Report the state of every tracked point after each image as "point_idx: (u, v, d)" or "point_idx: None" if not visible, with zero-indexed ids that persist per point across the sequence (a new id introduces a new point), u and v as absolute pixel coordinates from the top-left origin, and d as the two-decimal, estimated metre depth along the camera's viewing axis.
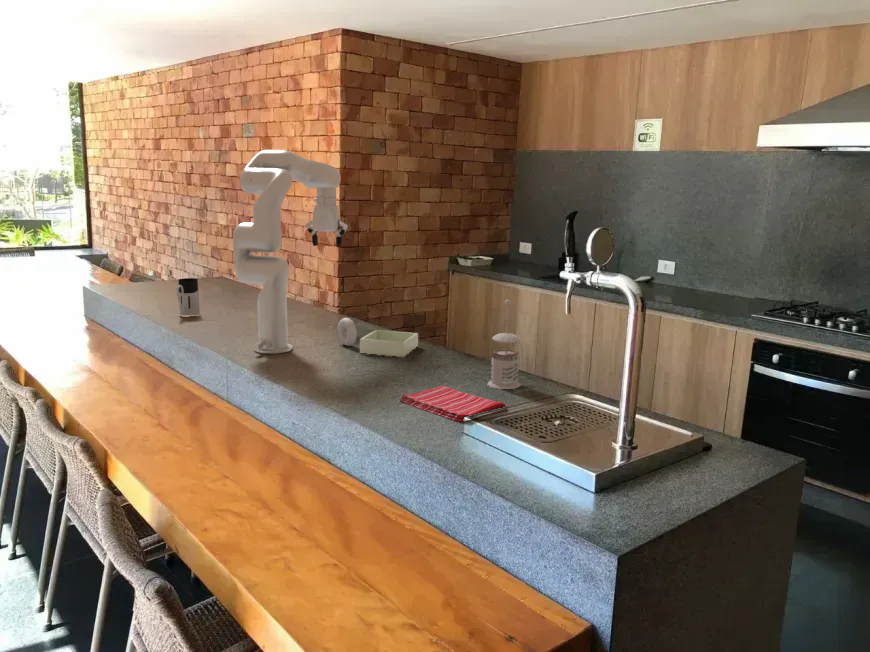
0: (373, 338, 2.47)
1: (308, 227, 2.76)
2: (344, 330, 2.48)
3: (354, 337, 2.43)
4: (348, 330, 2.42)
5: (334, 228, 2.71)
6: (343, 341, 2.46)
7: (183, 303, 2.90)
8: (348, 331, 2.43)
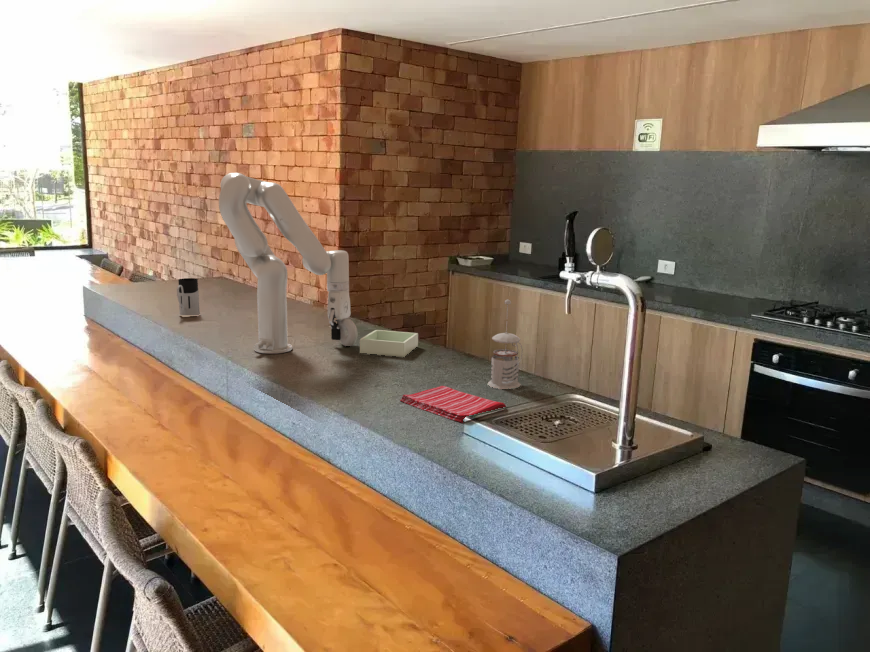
0: (373, 338, 2.47)
1: (334, 322, 2.41)
2: (344, 331, 2.47)
3: (355, 337, 2.42)
4: (349, 331, 2.42)
5: (350, 312, 2.50)
6: (343, 342, 2.45)
7: (183, 303, 2.90)
8: (349, 332, 2.42)
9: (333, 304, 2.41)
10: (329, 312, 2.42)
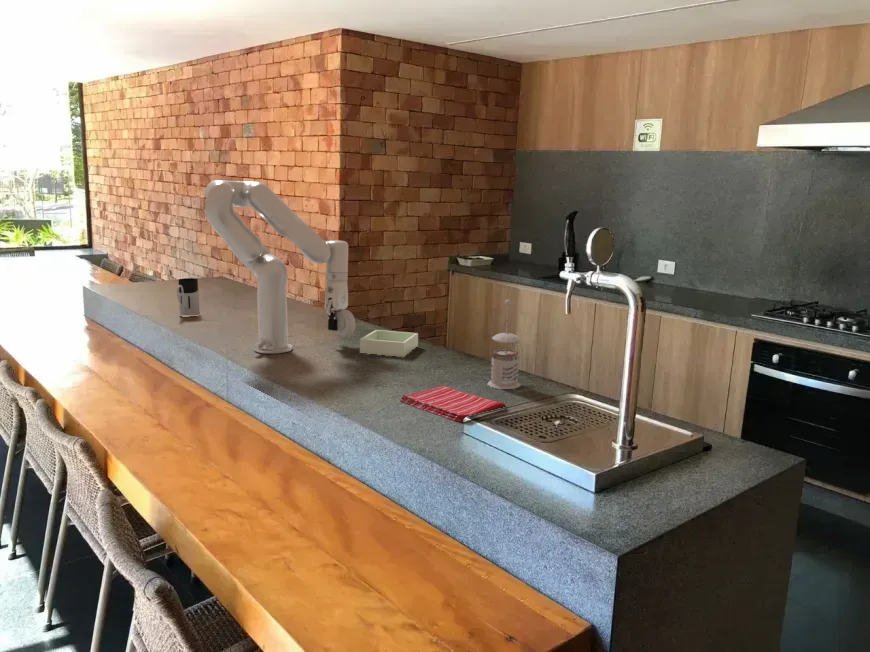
0: (373, 338, 2.47)
1: (331, 312, 2.41)
2: (341, 322, 2.45)
3: (353, 328, 2.41)
4: (348, 321, 2.40)
5: (347, 304, 2.49)
6: (341, 333, 2.44)
7: (183, 303, 2.90)
8: (347, 322, 2.41)
9: (331, 294, 2.40)
10: (326, 302, 2.41)
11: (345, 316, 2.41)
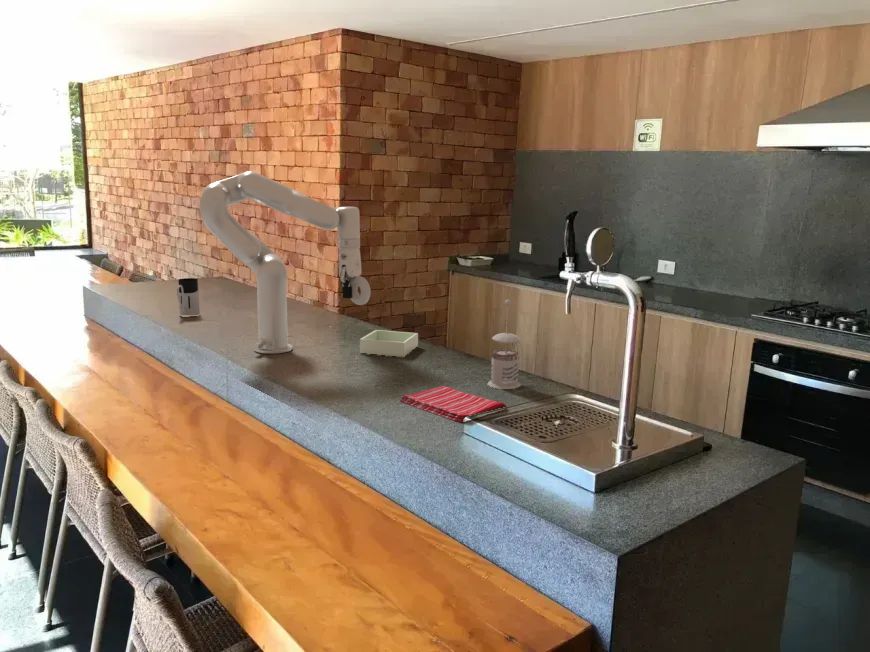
0: (373, 338, 2.47)
1: (345, 279, 2.37)
2: (355, 289, 2.42)
3: (369, 295, 2.38)
4: (363, 288, 2.37)
5: None
6: (356, 300, 2.40)
7: (183, 303, 2.90)
8: (362, 289, 2.37)
9: (344, 261, 2.36)
10: (340, 269, 2.37)
11: (360, 283, 2.38)
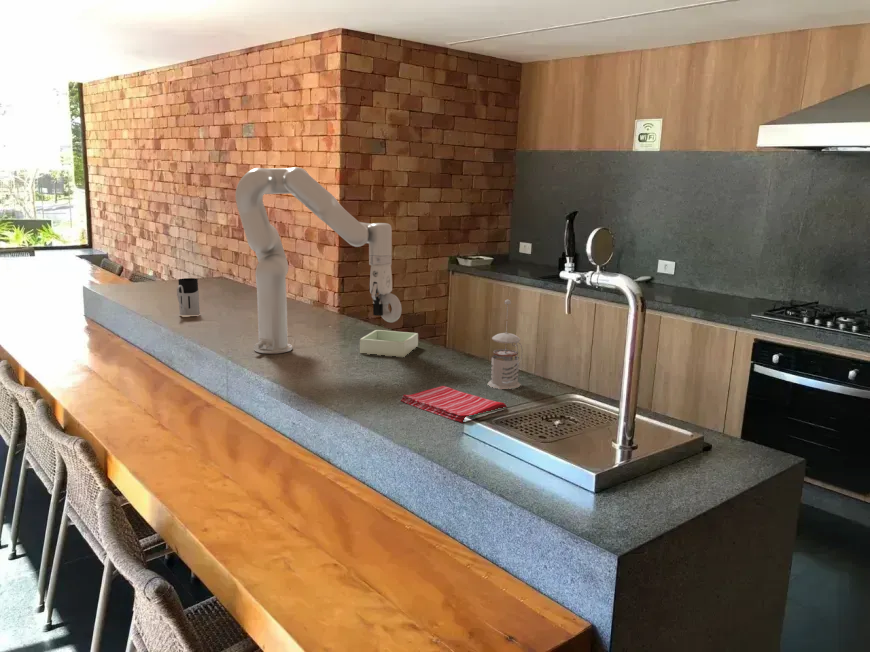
0: (373, 338, 2.47)
1: (376, 297, 2.34)
2: (386, 306, 2.39)
3: (400, 312, 2.35)
4: (394, 305, 2.34)
5: (391, 288, 2.43)
6: (386, 317, 2.38)
7: (183, 303, 2.90)
8: (394, 306, 2.34)
9: (376, 278, 2.33)
10: (371, 286, 2.34)
11: (391, 300, 2.35)
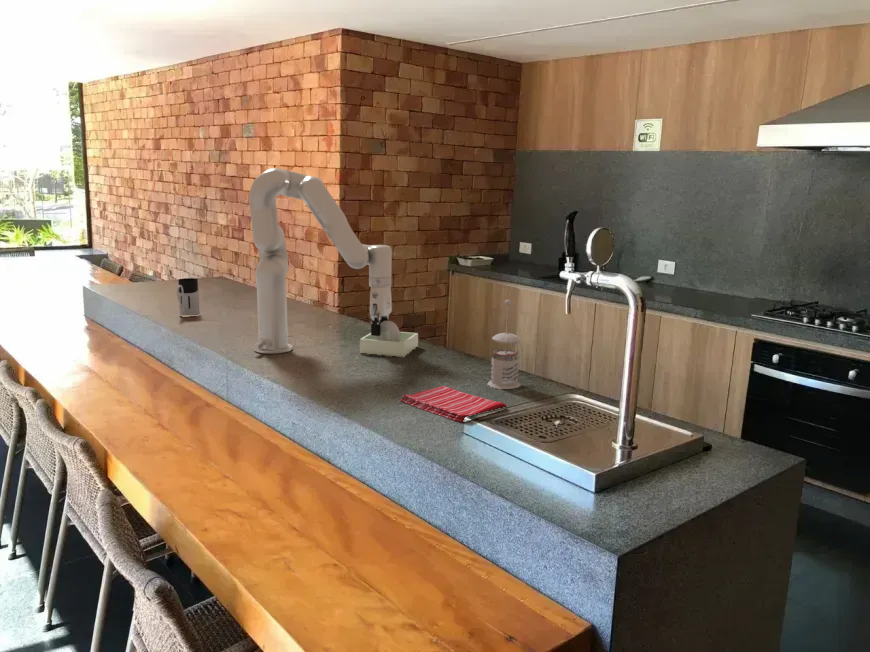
0: (373, 338, 2.47)
1: (374, 317, 2.34)
2: (385, 333, 2.41)
3: (398, 340, 2.37)
4: (393, 333, 2.36)
5: (391, 309, 2.44)
6: None
7: (183, 303, 2.90)
8: (392, 334, 2.36)
9: (376, 300, 2.35)
10: (371, 308, 2.36)
11: (390, 328, 2.37)
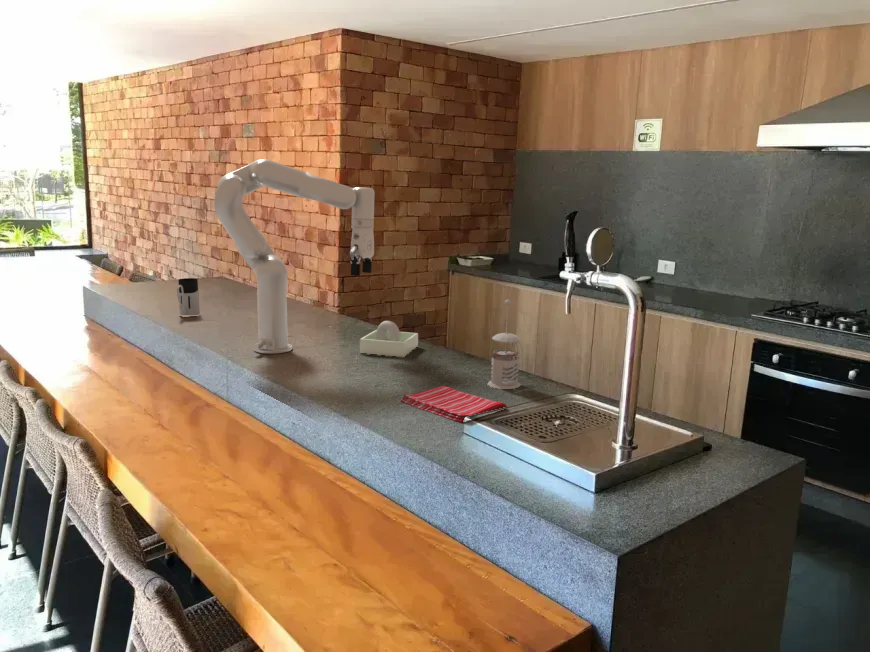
0: (373, 338, 2.47)
1: (354, 255, 2.37)
2: (384, 333, 2.41)
3: (398, 340, 2.37)
4: (393, 333, 2.36)
5: (373, 252, 2.47)
6: None
7: (183, 303, 2.90)
8: (392, 334, 2.36)
9: (357, 241, 2.38)
10: None
11: (390, 328, 2.37)
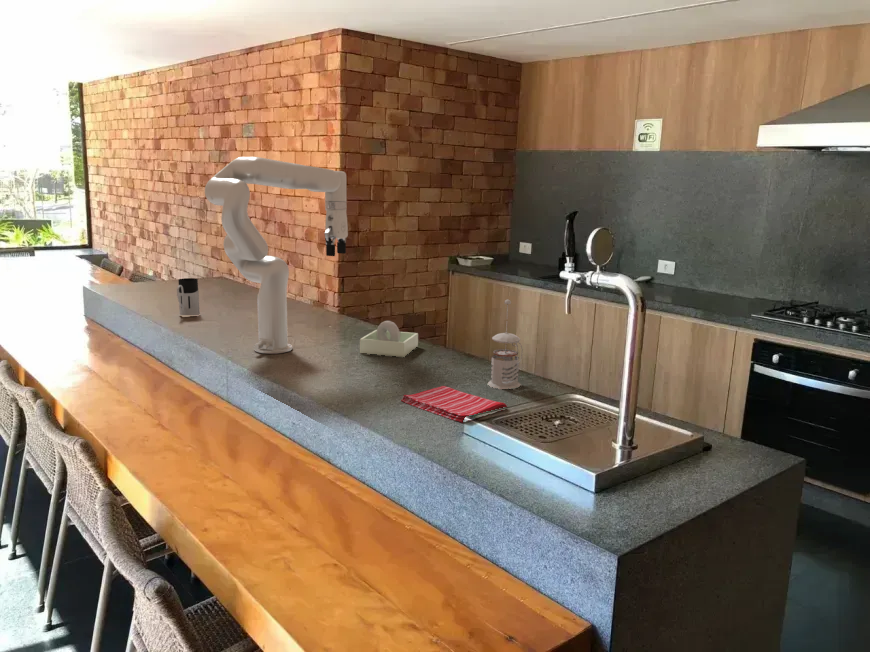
0: (373, 338, 2.47)
1: (329, 236, 2.46)
2: (384, 333, 2.41)
3: (398, 340, 2.37)
4: (393, 333, 2.36)
5: (347, 234, 2.57)
6: None
7: (183, 303, 2.90)
8: (392, 334, 2.36)
9: (331, 222, 2.48)
10: None
11: (390, 328, 2.37)
